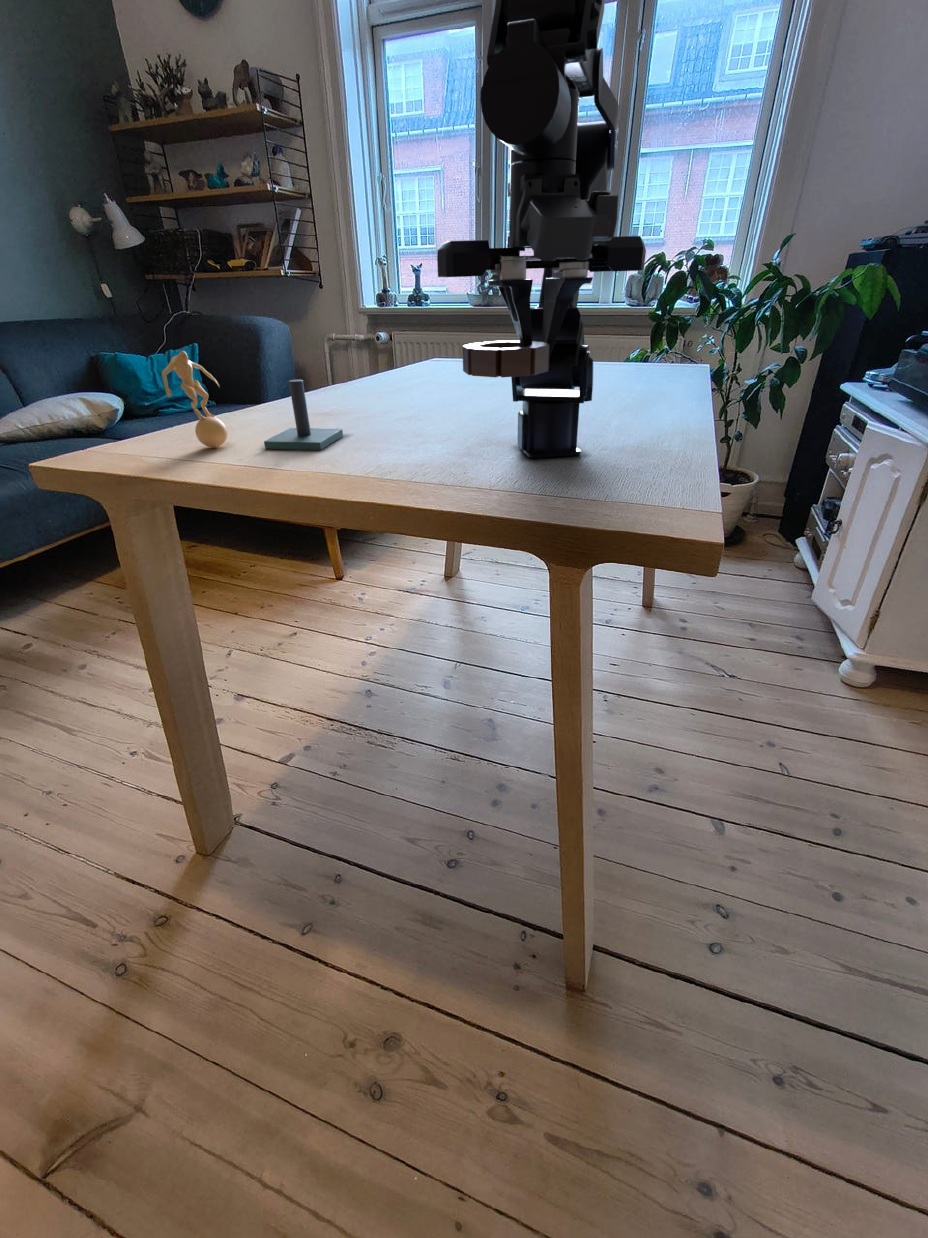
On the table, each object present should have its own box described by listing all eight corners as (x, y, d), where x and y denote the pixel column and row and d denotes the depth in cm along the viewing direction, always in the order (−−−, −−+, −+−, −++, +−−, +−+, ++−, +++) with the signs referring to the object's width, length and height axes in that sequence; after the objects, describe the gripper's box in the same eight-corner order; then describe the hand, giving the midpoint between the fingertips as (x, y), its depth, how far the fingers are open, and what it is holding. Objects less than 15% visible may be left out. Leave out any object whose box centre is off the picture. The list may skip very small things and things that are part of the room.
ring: (533, 363, 64) (533, 338, 63) (557, 374, 57) (558, 346, 56) (458, 367, 63) (457, 342, 61) (473, 379, 56) (473, 351, 54)
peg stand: (343, 435, 85) (335, 375, 81) (321, 450, 78) (311, 385, 74) (291, 434, 86) (281, 375, 82) (265, 448, 79) (252, 385, 75)
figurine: (200, 455, 77) (175, 355, 71) (169, 451, 79) (142, 353, 73) (248, 441, 83) (228, 347, 77) (217, 437, 86) (196, 346, 80)
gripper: (453, 147, 44) (459, 374, 52) (688, 147, 46) (660, 362, 54) (432, 170, 53) (440, 359, 61) (628, 169, 56) (612, 350, 64)
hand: (536, 358), depth 60 cm, fingers closed on ring, 2 cm apart
